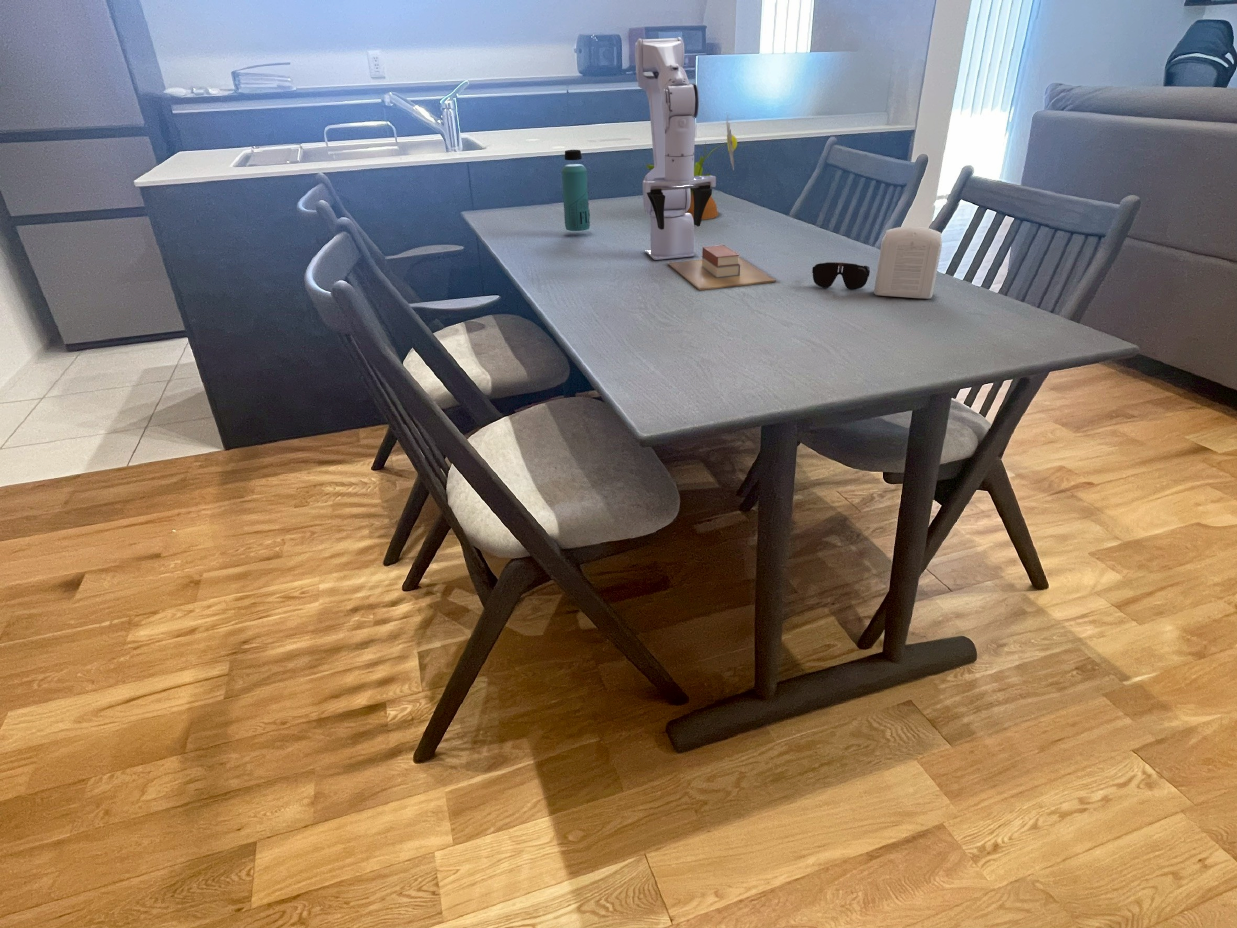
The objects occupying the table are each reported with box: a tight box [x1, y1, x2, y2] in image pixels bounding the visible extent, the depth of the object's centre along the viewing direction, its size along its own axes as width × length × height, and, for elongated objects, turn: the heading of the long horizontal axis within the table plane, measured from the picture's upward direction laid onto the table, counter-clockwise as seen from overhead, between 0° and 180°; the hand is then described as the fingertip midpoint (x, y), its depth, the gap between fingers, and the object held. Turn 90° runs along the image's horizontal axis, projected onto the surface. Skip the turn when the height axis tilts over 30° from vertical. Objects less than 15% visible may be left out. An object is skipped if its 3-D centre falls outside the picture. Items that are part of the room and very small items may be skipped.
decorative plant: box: [645, 114, 738, 221], centre depth 199 cm, size 27×24×25 cm
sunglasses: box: [811, 261, 871, 291], centre depth 145 cm, size 10×12×5 cm
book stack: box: [701, 244, 740, 278], centre depth 152 cm, size 5×9×4 cm, turn 14°
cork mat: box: [668, 256, 777, 291], centre depth 153 cm, size 16×20×1 cm
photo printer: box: [873, 225, 943, 300], centre depth 133 cm, size 10×4×12 cm, turn 72°
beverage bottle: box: [560, 149, 591, 232], centre depth 183 cm, size 6×7×20 cm
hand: (678, 227), depth 150 cm, fingers open, 7 cm apart
